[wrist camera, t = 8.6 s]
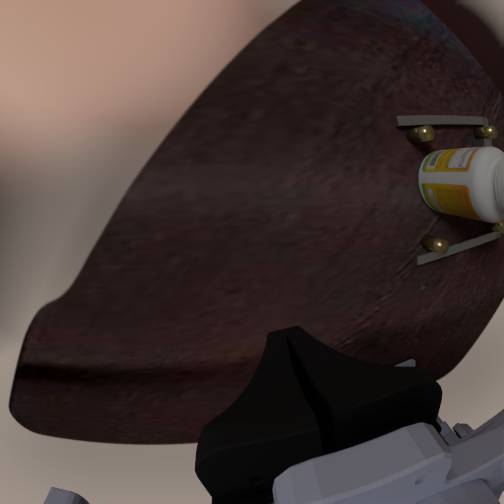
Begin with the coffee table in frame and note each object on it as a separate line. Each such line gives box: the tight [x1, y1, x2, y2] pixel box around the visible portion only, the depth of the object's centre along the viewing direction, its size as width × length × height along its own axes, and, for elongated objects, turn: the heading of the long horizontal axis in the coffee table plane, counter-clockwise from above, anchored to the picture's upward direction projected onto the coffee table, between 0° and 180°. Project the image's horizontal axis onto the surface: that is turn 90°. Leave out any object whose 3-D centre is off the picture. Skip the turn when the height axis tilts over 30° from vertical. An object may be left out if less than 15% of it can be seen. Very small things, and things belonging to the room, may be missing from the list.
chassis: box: [393, 115, 504, 265], centre depth 20 cm, size 12×12×2 cm
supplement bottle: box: [418, 147, 504, 223], centre depth 16 cm, size 5×5×10 cm
